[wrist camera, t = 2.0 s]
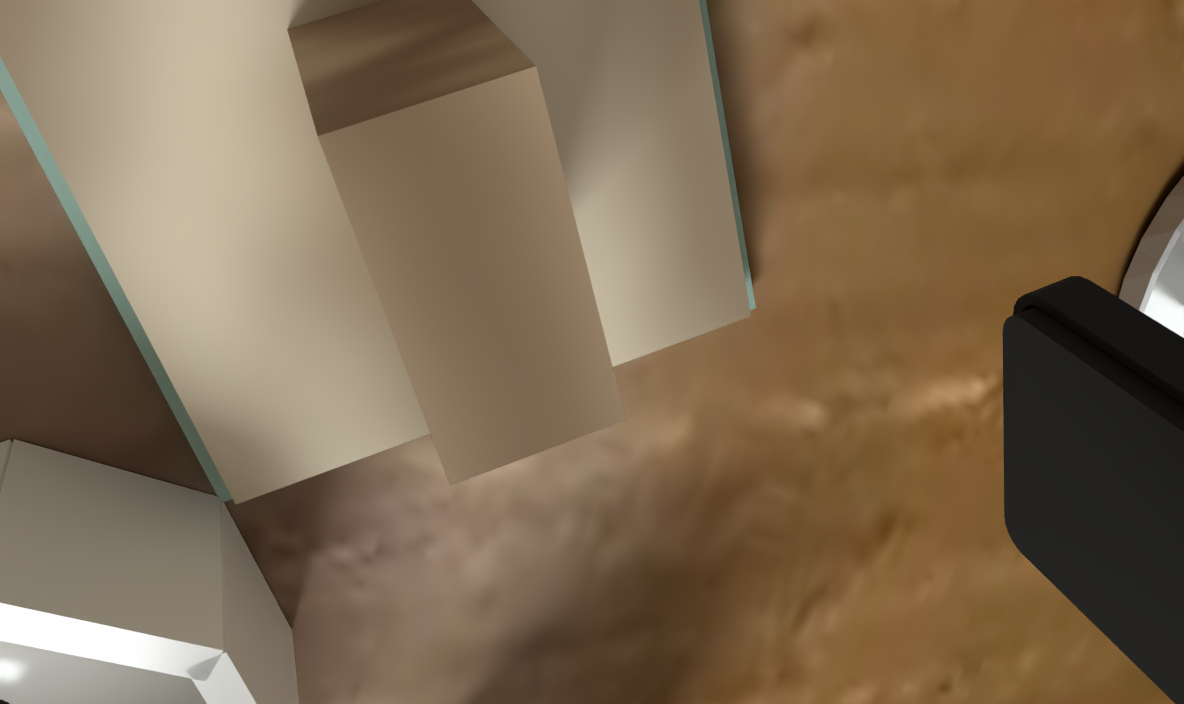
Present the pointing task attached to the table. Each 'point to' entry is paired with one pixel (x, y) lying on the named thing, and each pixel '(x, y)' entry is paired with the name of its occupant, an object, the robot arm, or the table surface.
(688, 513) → the table surface
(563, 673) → the table surface
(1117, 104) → the table surface
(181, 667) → the bowl
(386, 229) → the lid
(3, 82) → the mat
